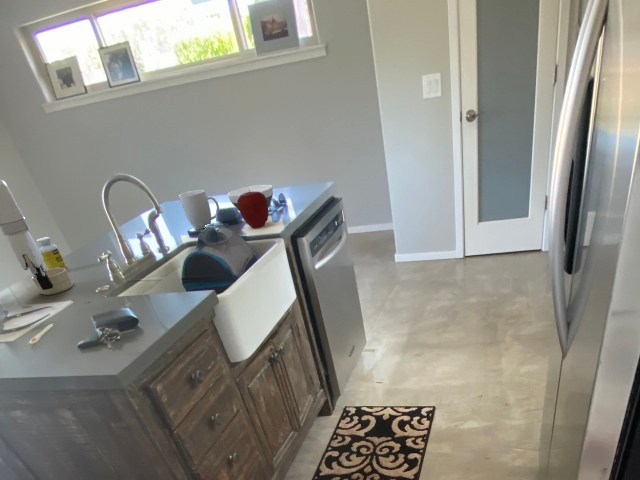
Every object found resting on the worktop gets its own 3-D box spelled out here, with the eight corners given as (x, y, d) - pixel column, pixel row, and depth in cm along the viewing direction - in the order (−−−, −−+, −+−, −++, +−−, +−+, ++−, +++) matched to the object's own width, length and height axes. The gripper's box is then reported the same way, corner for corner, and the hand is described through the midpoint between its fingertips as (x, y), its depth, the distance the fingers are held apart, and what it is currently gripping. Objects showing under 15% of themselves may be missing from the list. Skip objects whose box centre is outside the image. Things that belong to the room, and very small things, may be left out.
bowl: (265, 219, 220) (258, 194, 214) (226, 221, 226) (219, 197, 220) (285, 207, 233) (279, 183, 227) (248, 210, 239) (241, 186, 233)
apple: (277, 221, 214) (268, 184, 205) (265, 230, 206) (256, 191, 197) (251, 223, 218) (241, 187, 209) (239, 231, 209) (228, 194, 201)
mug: (220, 220, 230) (210, 186, 222) (226, 224, 223) (216, 189, 214) (187, 228, 226) (176, 194, 217) (193, 232, 218) (181, 197, 210)
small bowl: (37, 298, 174) (27, 281, 170) (43, 288, 182) (34, 272, 179) (71, 290, 176) (62, 274, 172) (76, 281, 184) (67, 265, 180)
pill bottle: (60, 274, 194) (43, 240, 186) (47, 275, 195) (29, 242, 188) (72, 268, 198) (55, 235, 191) (58, 269, 200) (41, 236, 192)
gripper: (8, 225, 163) (40, 284, 176) (-5, 235, 152) (31, 298, 165) (32, 220, 164) (63, 279, 177) (22, 230, 154) (56, 292, 166)
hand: (48, 288), depth 171 cm, fingers closed
